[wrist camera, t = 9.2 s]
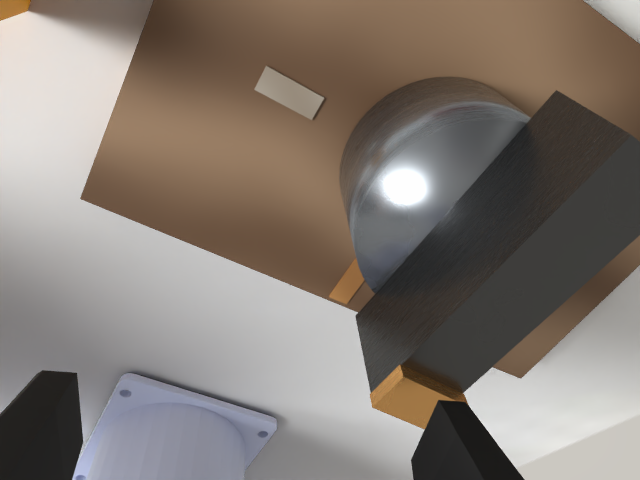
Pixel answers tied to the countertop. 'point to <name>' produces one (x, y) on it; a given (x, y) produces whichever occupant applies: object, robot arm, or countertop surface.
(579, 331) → the countertop surface
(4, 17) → the pipe clamp
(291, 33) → the base plate
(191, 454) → the robot arm
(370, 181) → the twist cap
